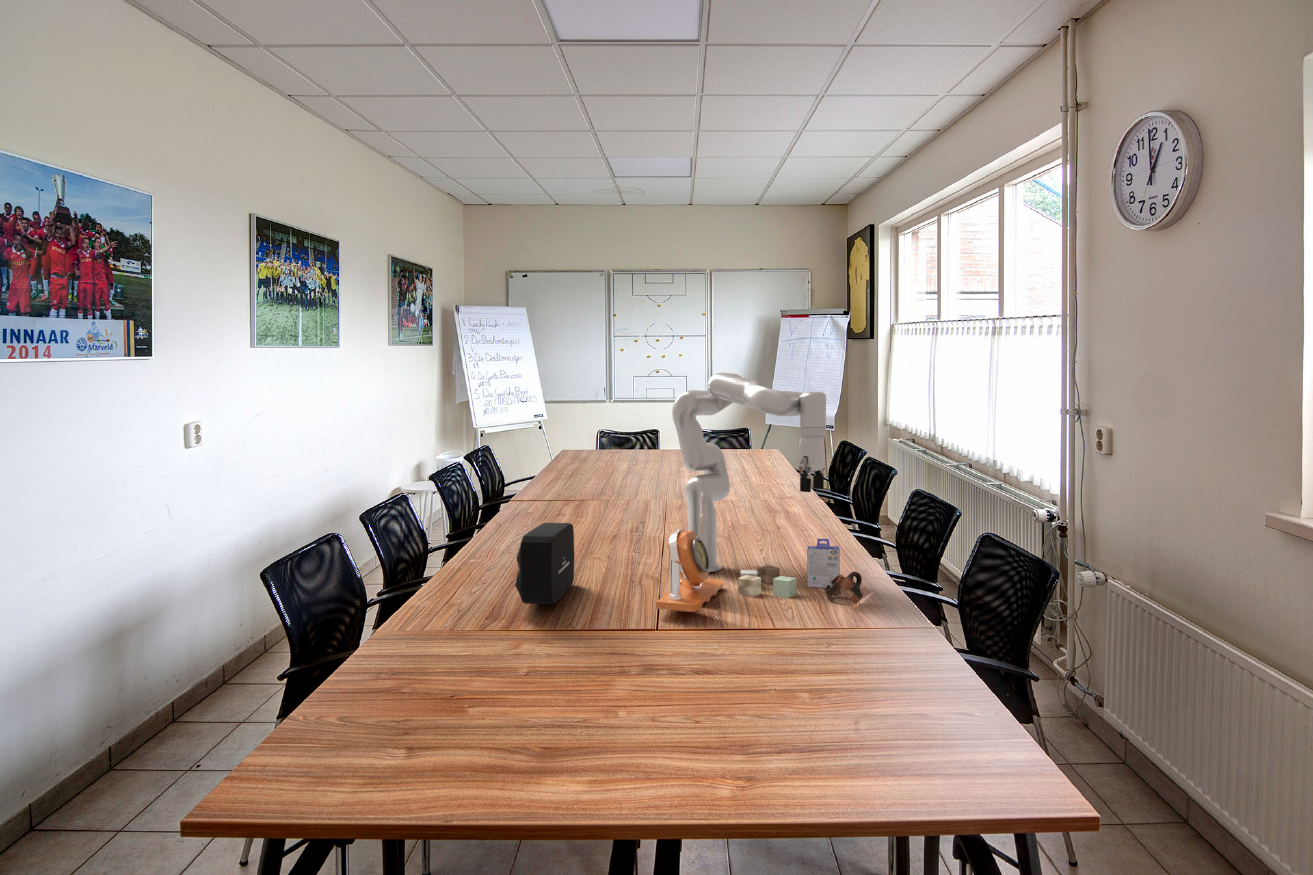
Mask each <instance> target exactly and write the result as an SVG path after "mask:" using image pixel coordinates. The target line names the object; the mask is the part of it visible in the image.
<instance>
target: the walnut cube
mask: <svg viewBox="0 0 1313 875" xmlns="http://www.w3.org/2000/svg"><path fill="white" fill-rule="evenodd" d="M756 570H757V574H758V577H761V583H763V582H764V584H765V585H770V584H773V579H775V578H777V577H779V576H781V575H780V574H781V573H780V570H781V569H780V567H778V566H775V565H770V564H767V565H760V566H757V567H756Z"/></svg>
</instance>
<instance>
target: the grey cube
mask: <svg viewBox="0 0 1313 875" xmlns="http://www.w3.org/2000/svg"><path fill="white" fill-rule="evenodd" d="M745 575H749V576H756V577H758V574H757V569H740V577H743V576H745Z"/></svg>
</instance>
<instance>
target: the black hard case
mask: <svg viewBox="0 0 1313 875" xmlns="http://www.w3.org/2000/svg"><path fill="white" fill-rule="evenodd" d="M574 532H575V531H574V525H573V524H572V523H569V522H543V523H541V524H539V525H538V526H536V527H534V528H533V529H531V530H529V531H528V532H526V533H525V534H524V535H522V538H521V542H520V545H519V548H518V553H517V555H516V562H517V566H518V572H517V576H516V581H515V587H516V590H517V592H518V594H519V597H520V599H521V601H522V603H523V604H527V605H554V604H556V603H557V602H558V601H559V600H561V599H562V597H563V596H565V594H566V593H567V592H568V591H569V589H570V588H571V587H572V585H573V584H574V580H575V578H574V577H575V575H574V574H575V535H574V534H575V533H574Z"/></svg>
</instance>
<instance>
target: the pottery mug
mask: <svg viewBox="0 0 1313 875" xmlns="http://www.w3.org/2000/svg"><path fill="white" fill-rule="evenodd" d="M854 578H855V579H856V581H854ZM862 580H863V578H862V576H861V573H859V572H858V571H852V572H850V573H849V574H848V575H847V576H843V575H842V574H841V573H840V575H838V576H837V577H835V578H834V579H833V580H832V581H831V583H832V584H833V585H832V586H831V587H830V586H829V585H827V587H824V590H823V592H824V594H826V599H828V600H829V599H830V600H831V601H833V600H834V598H833V596H834V597H838V596H840V595H842V591H841V587H842V588H843V589H844V590H846V591H850V592H852V594H853V595H852V596H851V598H850V601H851V602H852V603H853V604H854V605H855V606H856V605H857V604H858V603H859V602H860V601H861V599H863V596H864V594H863V593H862V591H861V585H862V582H863V581H862Z"/></svg>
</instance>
